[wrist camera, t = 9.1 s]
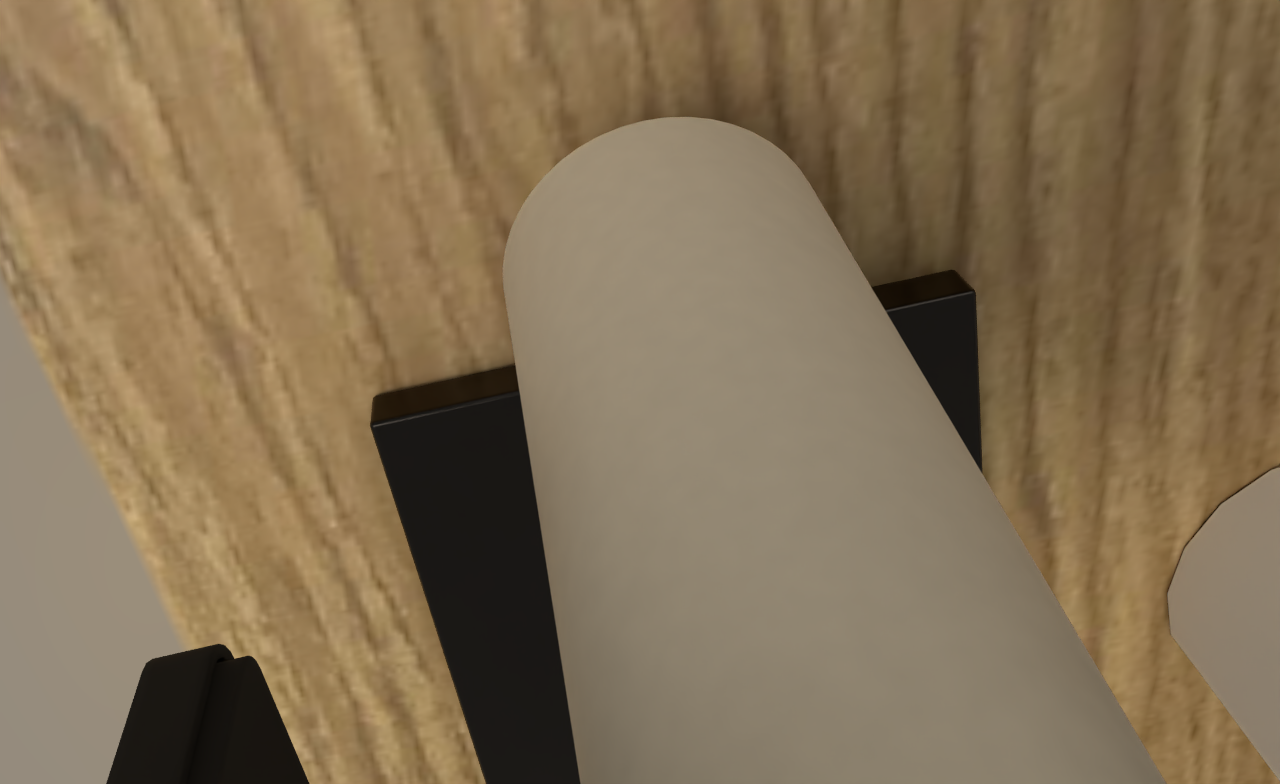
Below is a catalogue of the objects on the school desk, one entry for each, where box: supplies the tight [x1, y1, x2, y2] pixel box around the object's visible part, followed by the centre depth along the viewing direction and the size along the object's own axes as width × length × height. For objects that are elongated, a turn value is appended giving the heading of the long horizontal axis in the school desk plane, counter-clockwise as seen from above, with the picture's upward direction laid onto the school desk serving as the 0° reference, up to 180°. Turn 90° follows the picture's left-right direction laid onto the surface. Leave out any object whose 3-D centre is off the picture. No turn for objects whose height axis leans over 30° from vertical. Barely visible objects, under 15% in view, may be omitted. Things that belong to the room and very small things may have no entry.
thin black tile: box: [370, 270, 983, 784], centre depth 23 cm, size 13×10×1 cm
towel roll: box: [503, 117, 1166, 784], centre depth 13 cm, size 12×5×5 cm
